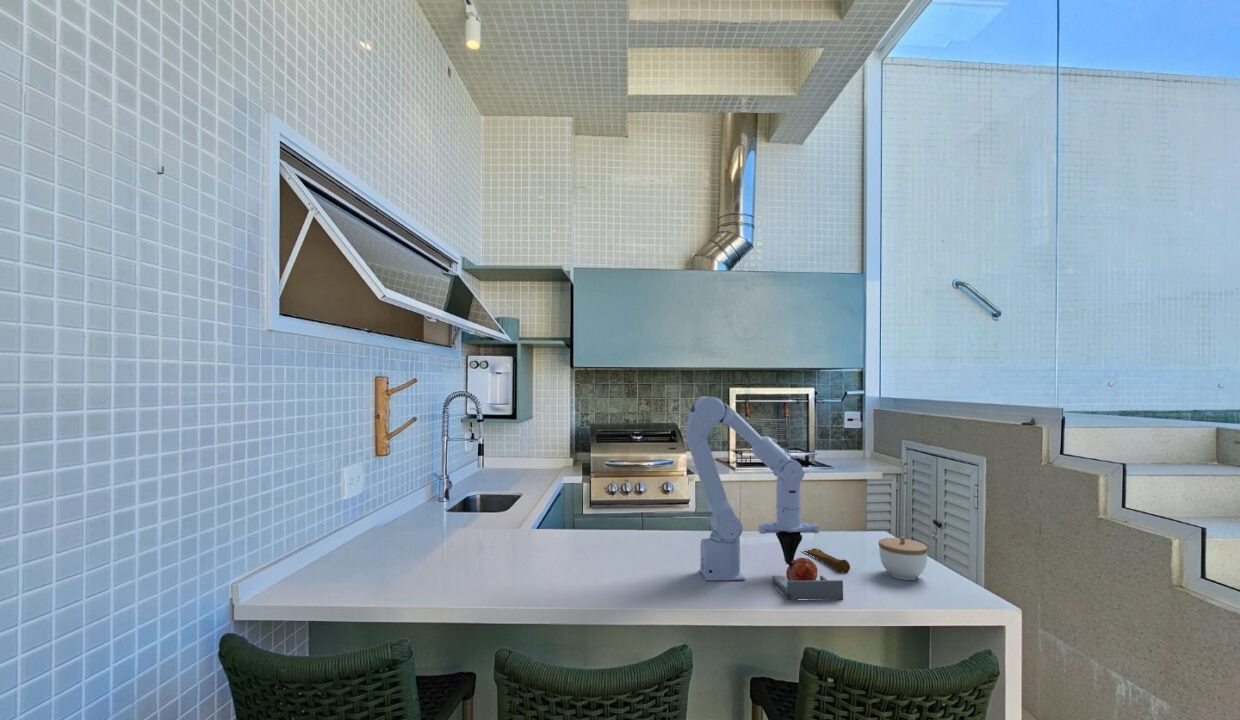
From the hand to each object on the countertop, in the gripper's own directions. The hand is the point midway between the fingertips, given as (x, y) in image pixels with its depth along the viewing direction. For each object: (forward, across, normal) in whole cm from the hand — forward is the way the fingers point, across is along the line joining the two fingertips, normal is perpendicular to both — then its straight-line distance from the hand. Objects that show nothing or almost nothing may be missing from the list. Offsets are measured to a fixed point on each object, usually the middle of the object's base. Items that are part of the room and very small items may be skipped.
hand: (788, 562), depth 136 cm
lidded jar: (+3, +28, -2) cm, 28 cm away
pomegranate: (+3, 0, -10) cm, 10 cm away
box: (+3, 0, -10) cm, 11 cm away
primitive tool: (+4, +13, +10) cm, 17 cm away
